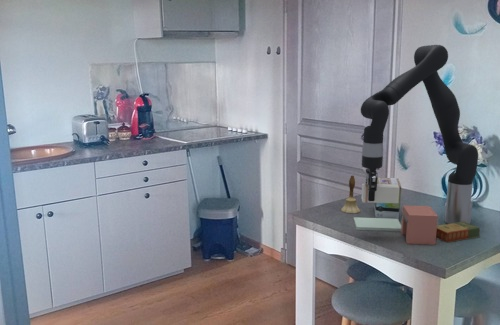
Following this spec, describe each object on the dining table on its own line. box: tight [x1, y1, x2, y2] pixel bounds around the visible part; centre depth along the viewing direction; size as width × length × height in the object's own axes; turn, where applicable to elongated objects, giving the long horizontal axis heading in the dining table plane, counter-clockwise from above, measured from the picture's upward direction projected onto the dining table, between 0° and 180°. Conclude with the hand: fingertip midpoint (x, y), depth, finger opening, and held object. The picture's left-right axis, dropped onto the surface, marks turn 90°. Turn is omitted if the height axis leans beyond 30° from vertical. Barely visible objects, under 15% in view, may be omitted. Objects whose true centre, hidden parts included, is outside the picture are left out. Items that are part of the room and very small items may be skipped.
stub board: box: [353, 217, 402, 232], centre depth 204 cm, size 18×12×1 cm, turn 84°
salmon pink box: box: [400, 204, 439, 246], centre depth 189 cm, size 10×12×11 cm
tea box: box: [373, 176, 402, 220], centre depth 218 cm, size 15×10×15 cm
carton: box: [436, 222, 481, 243], centre depth 193 cm, size 8×16×4 cm, turn 113°
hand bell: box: [340, 175, 361, 214], centre depth 222 cm, size 8×8×16 cm
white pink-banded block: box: [361, 183, 399, 204], centre depth 188 cm, size 13×4×6 cm, turn 85°
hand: (370, 198), depth 189 cm, fingers closed on white pink-banded block, 4 cm apart
